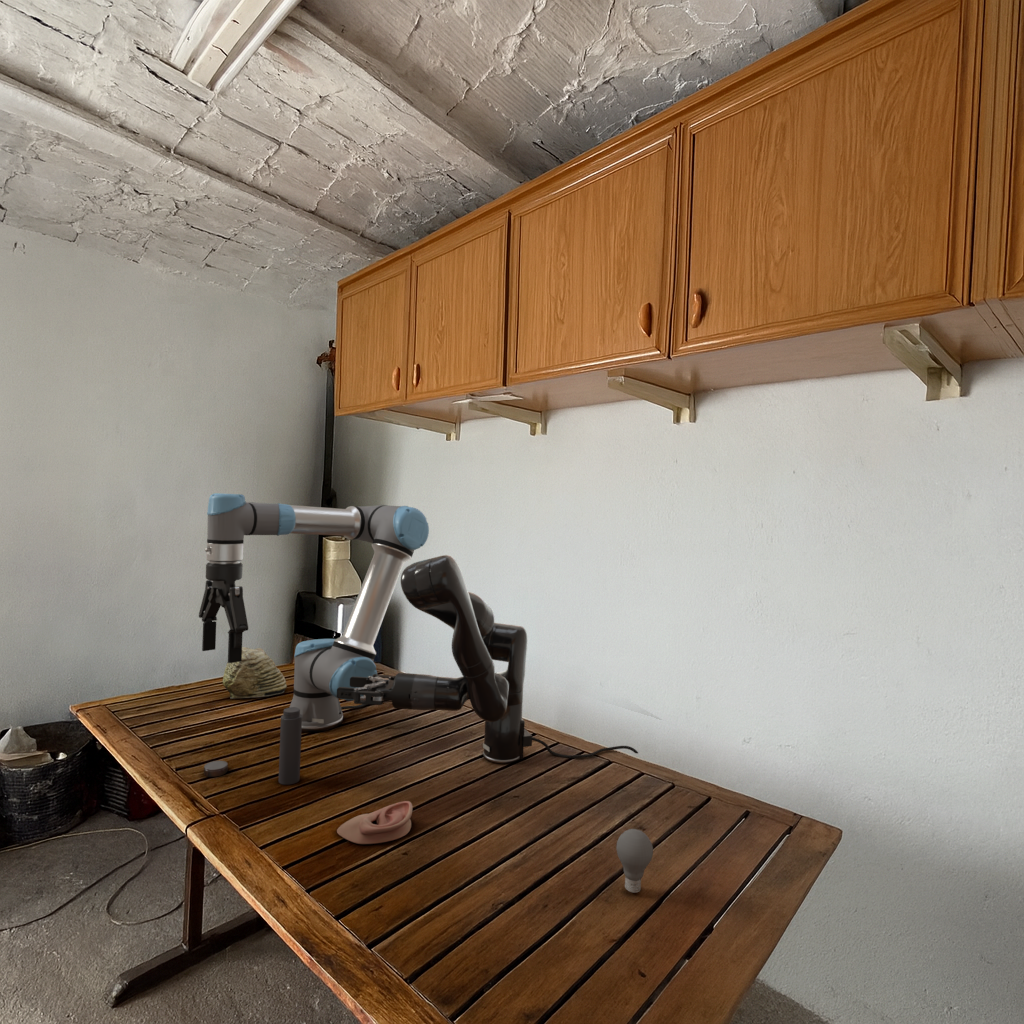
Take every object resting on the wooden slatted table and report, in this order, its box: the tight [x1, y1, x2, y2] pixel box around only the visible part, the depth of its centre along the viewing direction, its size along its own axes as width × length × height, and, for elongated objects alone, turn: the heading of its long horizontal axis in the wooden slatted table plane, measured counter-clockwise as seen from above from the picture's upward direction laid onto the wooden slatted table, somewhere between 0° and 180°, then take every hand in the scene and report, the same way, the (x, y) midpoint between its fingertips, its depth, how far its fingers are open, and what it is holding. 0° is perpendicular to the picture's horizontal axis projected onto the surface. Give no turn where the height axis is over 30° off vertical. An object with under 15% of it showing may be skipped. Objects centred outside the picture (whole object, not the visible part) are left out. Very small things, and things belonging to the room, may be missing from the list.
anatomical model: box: [336, 800, 414, 845], centre depth 121 cm, size 13×4×12 cm
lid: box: [203, 760, 229, 778], centre depth 143 cm, size 5×5×2 cm
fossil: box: [222, 646, 288, 699], centre depth 198 cm, size 9×18×15 cm, turn 132°
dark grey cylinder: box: [278, 706, 302, 786], centre depth 141 cm, size 4×4×16 cm
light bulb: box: [615, 828, 654, 894], centre depth 106 cm, size 6×6×10 cm
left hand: (221, 656), depth 143 cm, fingers open, 13 cm apart
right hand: (343, 686), depth 139 cm, fingers open, 8 cm apart
